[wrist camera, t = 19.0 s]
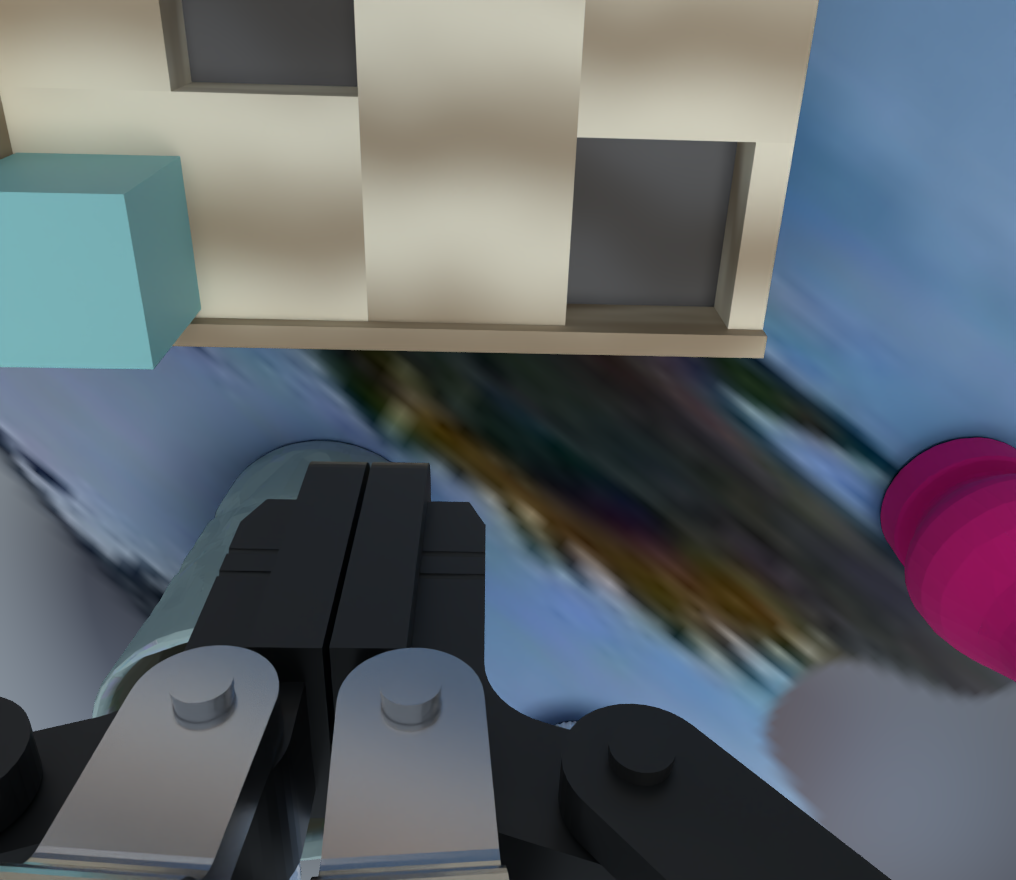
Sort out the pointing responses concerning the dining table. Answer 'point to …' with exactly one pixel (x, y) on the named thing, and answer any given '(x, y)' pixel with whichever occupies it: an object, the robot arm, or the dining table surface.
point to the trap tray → (442, 161)
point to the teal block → (93, 260)
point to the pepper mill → (960, 545)
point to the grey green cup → (195, 579)
